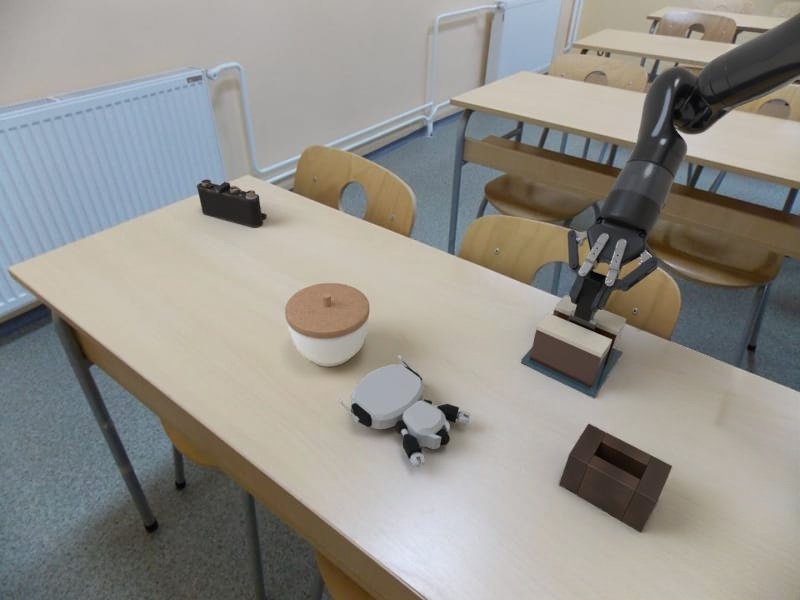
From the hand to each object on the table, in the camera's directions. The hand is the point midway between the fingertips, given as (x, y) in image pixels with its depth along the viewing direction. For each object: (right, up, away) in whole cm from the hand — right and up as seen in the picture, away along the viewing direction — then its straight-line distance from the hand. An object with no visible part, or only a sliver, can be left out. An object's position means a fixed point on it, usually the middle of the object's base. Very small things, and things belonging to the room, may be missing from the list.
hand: (583, 306), depth 75 cm
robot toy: (-26, -16, -3) cm, 31 cm away
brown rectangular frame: (-1, -22, -11) cm, 25 cm away
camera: (-65, +20, +46) cm, 82 cm away
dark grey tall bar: (+1, -8, +8) cm, 11 cm away
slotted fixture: (+1, -9, +8) cm, 12 cm away
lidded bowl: (-38, -7, +9) cm, 39 cm away
